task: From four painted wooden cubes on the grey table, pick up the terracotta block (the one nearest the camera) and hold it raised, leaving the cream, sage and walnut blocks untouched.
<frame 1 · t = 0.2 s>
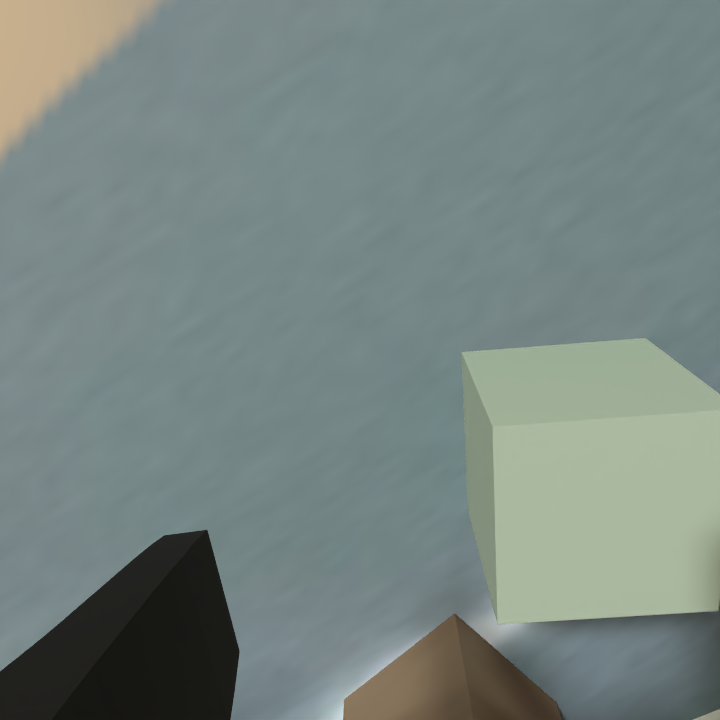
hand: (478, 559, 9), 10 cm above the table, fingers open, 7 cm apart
walnut block: (449, 698, 23), on the table
sage block: (551, 427, 19), on the table
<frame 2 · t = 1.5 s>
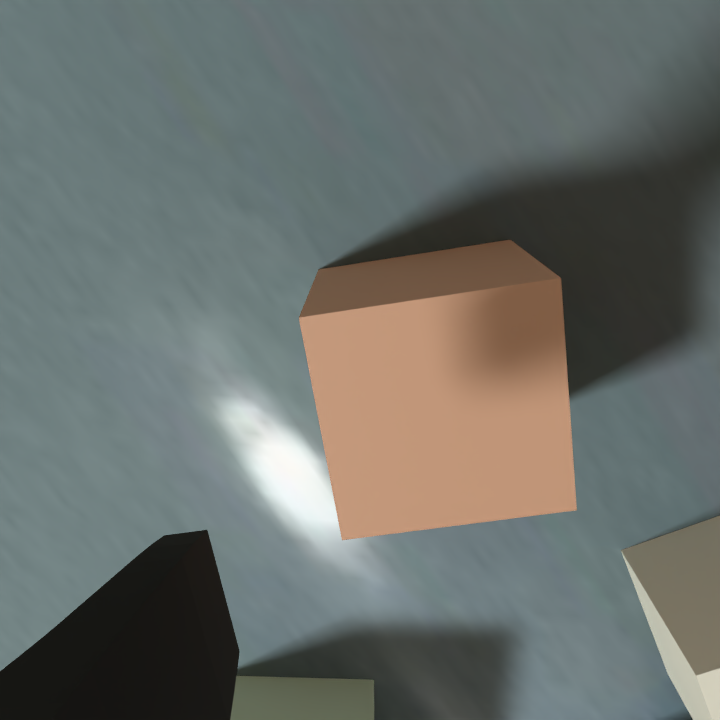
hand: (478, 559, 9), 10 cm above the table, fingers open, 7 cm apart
terracotta block: (425, 344, 18), on the table
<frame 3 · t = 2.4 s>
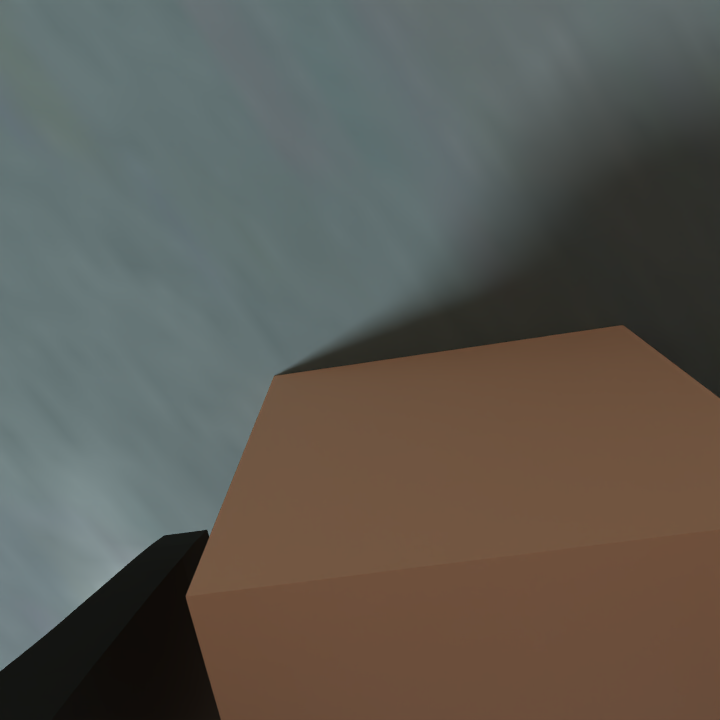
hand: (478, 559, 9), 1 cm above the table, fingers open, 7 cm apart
terracotta block: (464, 500, 10), on the table
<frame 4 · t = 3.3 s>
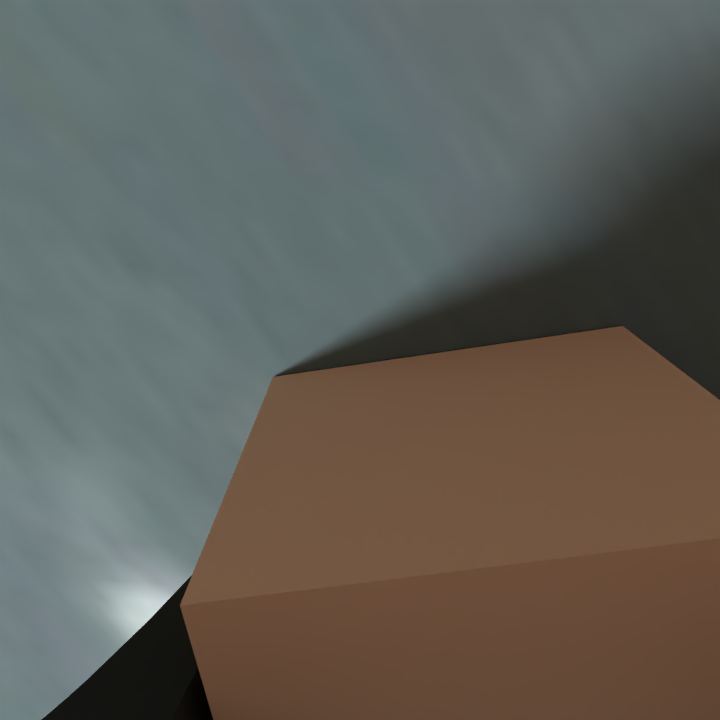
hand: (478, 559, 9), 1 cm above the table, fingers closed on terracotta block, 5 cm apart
terracotta block: (464, 504, 10), on the table, touching gripper
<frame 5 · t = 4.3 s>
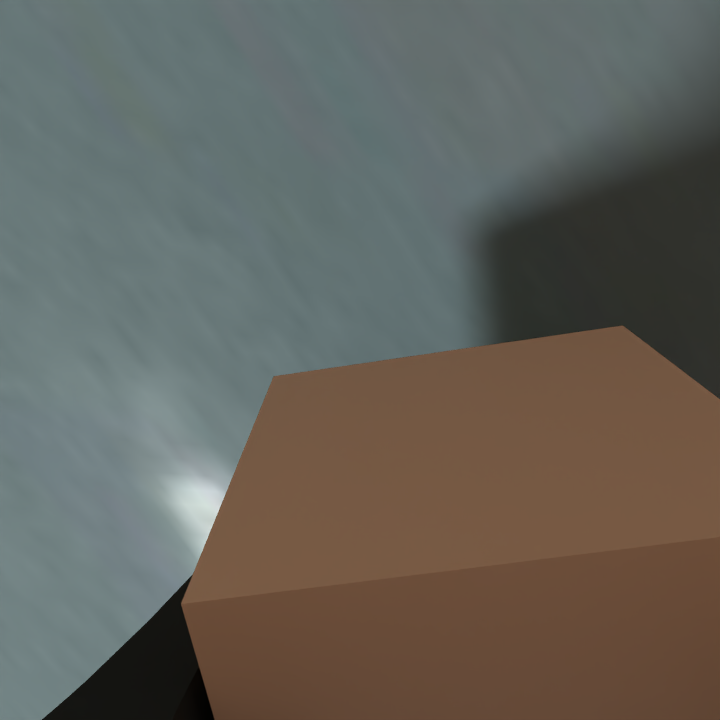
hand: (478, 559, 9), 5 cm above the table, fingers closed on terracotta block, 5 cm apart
terracotta block: (464, 504, 10), point 4 cm above the table, touching gripper
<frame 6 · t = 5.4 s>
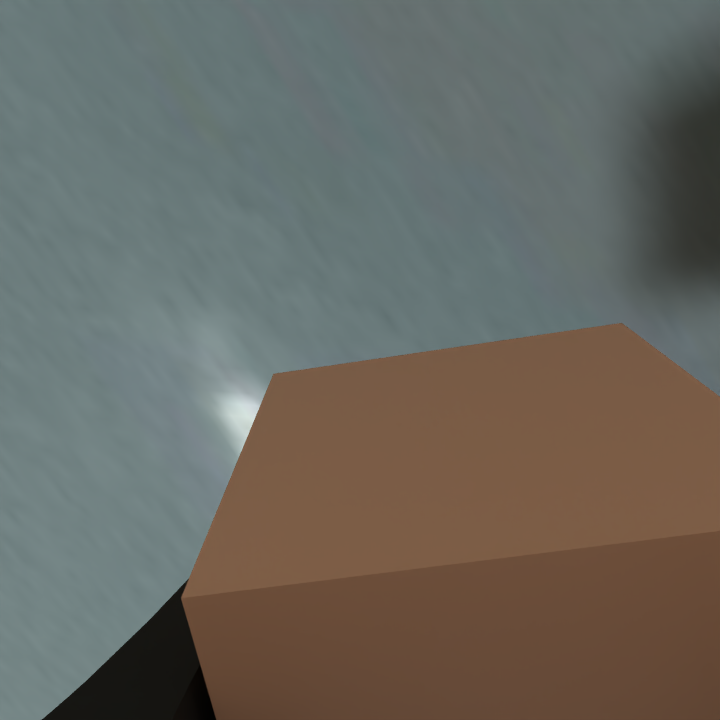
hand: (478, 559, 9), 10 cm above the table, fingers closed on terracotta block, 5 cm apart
terracotta block: (463, 501, 10), point 8 cm above the table, touching gripper
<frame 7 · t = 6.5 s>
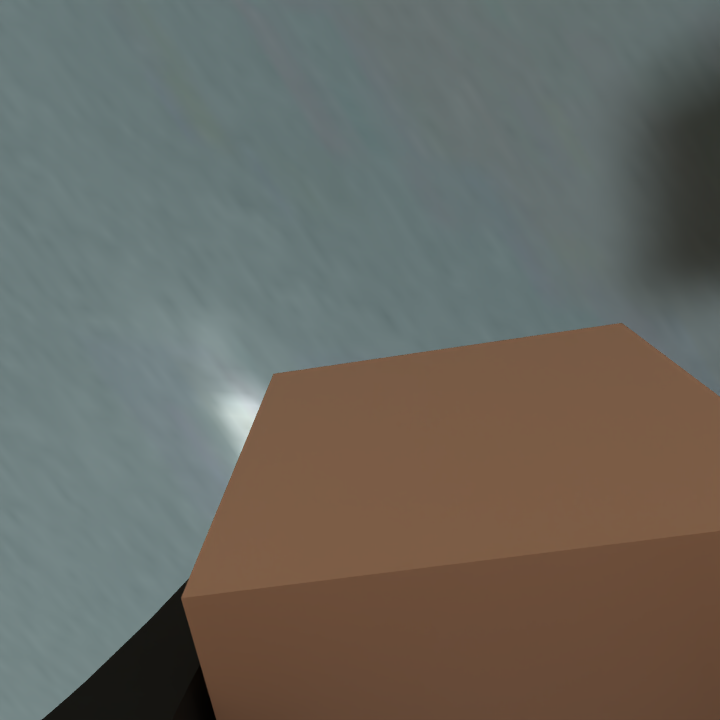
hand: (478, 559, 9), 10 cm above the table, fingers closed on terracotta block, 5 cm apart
terracotta block: (463, 501, 10), point 8 cm above the table, touching gripper
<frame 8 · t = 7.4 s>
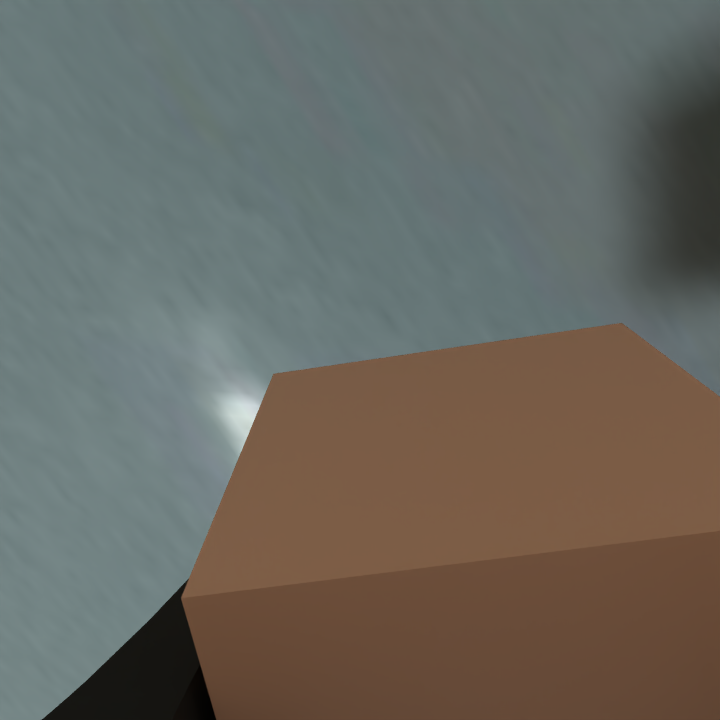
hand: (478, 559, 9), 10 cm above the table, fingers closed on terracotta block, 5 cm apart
terracotta block: (463, 501, 10), point 8 cm above the table, touching gripper
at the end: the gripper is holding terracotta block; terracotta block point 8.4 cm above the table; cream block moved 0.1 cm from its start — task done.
